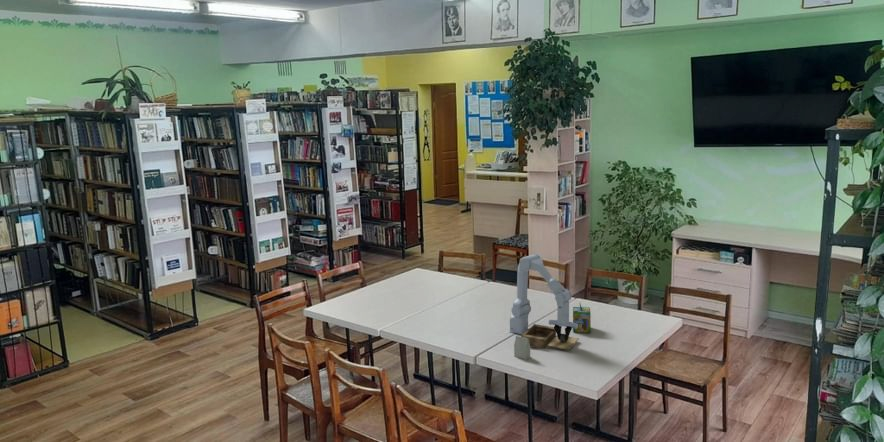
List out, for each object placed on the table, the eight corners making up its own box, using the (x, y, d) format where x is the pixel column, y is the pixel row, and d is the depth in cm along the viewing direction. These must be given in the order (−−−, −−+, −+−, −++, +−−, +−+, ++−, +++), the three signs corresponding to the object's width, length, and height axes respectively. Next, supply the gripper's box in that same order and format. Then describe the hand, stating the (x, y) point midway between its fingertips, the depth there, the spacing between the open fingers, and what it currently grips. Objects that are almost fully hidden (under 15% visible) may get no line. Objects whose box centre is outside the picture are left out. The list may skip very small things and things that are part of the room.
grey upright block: (526, 359, 292) (526, 340, 290) (514, 356, 296) (514, 336, 294) (530, 357, 294) (530, 337, 292) (518, 353, 299) (518, 334, 297)
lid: (547, 346, 303) (547, 338, 303) (557, 335, 316) (557, 328, 315) (569, 349, 298) (569, 341, 297) (578, 339, 311) (578, 331, 310)
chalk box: (590, 333, 321) (591, 306, 318) (572, 332, 323) (573, 306, 320) (590, 327, 330) (590, 300, 327) (572, 326, 332) (572, 300, 329)
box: (521, 345, 309) (521, 335, 308) (534, 332, 324) (534, 324, 323) (543, 349, 303) (543, 339, 302) (555, 336, 318) (556, 327, 317)
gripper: (546, 314, 304) (546, 340, 307) (574, 318, 297) (574, 344, 300) (551, 310, 310) (551, 335, 313) (579, 314, 303) (579, 339, 306)
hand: (563, 339), depth 307 cm, fingers closed on lid, 3 cm apart
